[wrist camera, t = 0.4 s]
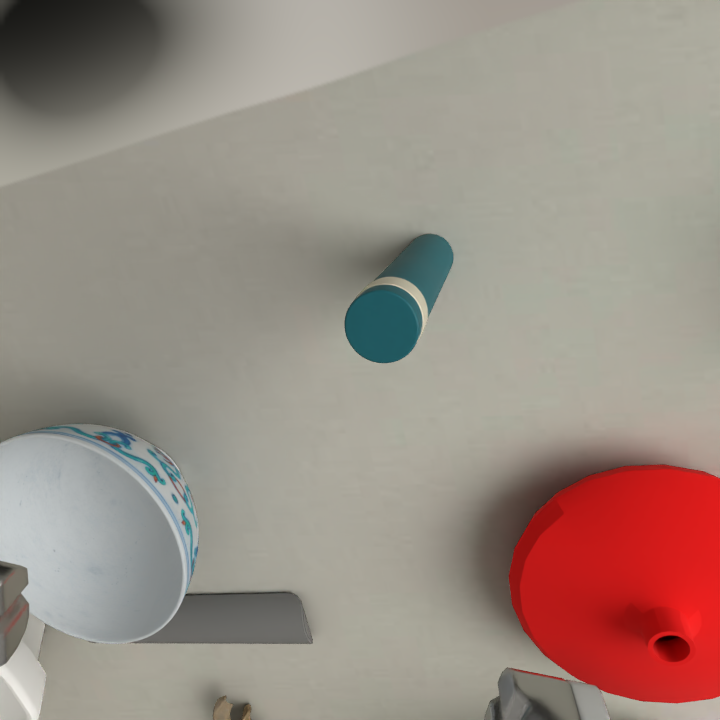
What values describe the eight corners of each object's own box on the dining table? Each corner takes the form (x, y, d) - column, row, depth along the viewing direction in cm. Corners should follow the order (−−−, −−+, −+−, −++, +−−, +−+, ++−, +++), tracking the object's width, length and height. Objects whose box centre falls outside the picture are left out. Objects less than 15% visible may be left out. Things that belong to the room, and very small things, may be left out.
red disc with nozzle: (504, 642, 40) (504, 736, 34) (513, 434, 35) (514, 499, 29) (764, 677, 37) (819, 790, 30) (817, 452, 32) (897, 530, 25)
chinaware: (217, 381, 39) (152, 434, 32) (256, 571, 43) (207, 654, 36) (28, 387, 42) (-67, 435, 35) (83, 561, 47) (8, 634, 40)
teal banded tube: (416, 225, 32) (357, 276, 20) (462, 243, 32) (433, 307, 19) (398, 270, 33) (332, 346, 21) (442, 288, 33) (402, 377, 20)
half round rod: (319, 638, 44) (312, 656, 42) (104, 637, 50) (90, 654, 48) (306, 591, 43) (298, 608, 41) (86, 596, 48) (71, 612, 47)
